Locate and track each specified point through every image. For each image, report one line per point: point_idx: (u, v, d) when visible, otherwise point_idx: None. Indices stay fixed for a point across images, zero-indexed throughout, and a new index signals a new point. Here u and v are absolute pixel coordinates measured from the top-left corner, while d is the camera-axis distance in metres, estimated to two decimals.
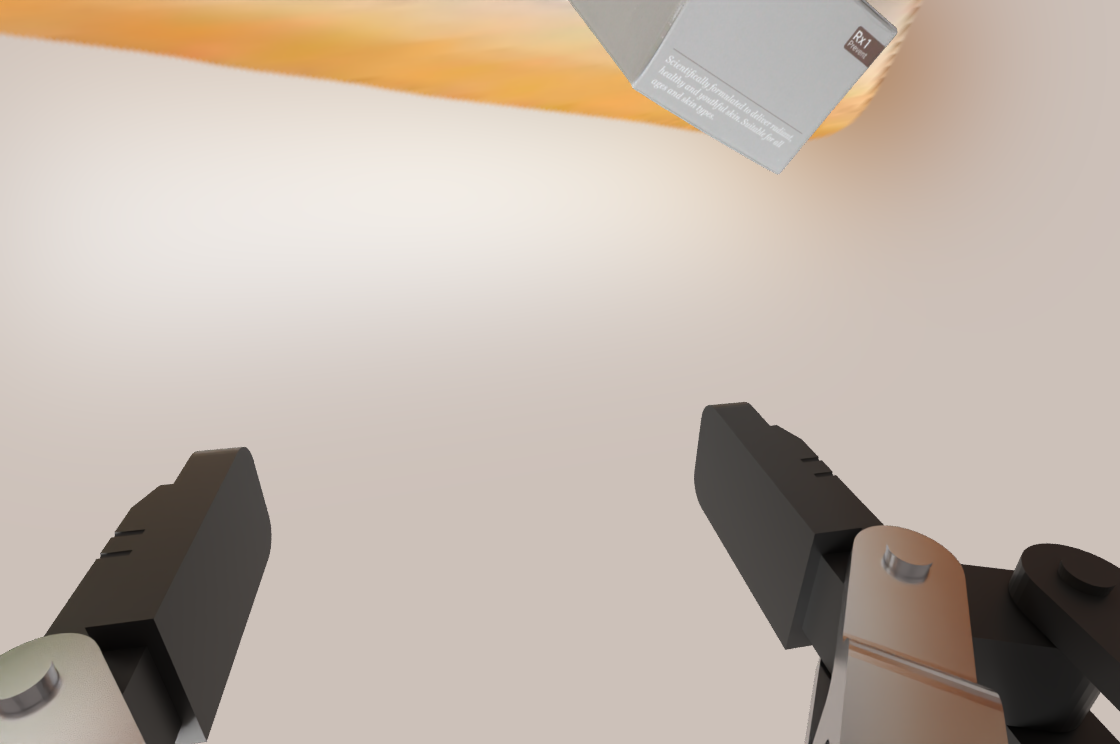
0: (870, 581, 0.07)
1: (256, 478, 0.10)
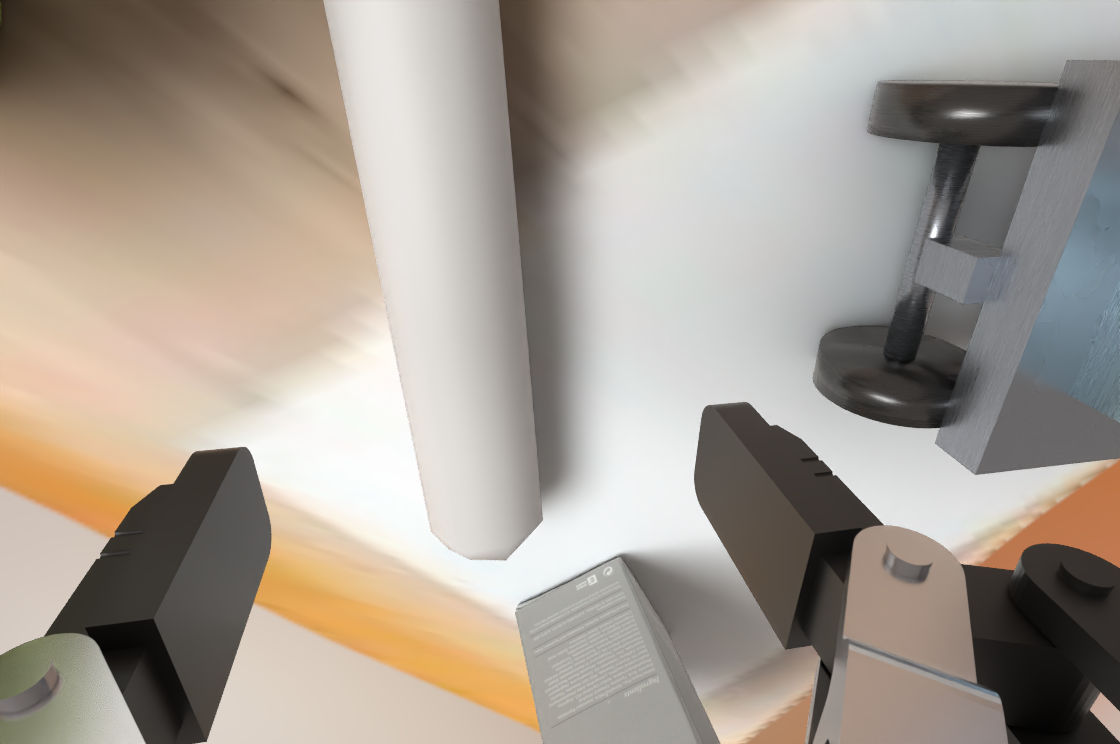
0: (870, 581, 0.07)
1: (256, 478, 0.10)
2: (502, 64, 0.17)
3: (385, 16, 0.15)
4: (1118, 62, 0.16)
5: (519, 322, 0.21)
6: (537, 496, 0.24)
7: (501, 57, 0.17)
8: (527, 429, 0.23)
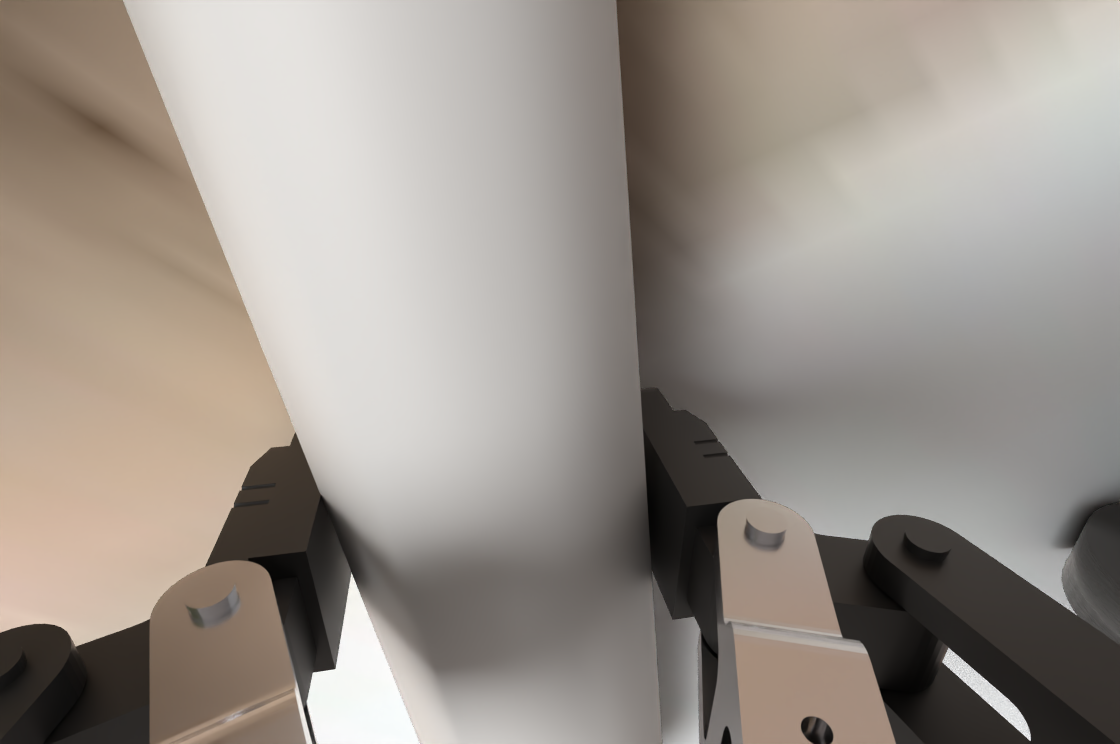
0: (738, 557, 0.07)
1: None
2: (615, 50, 0.06)
3: None
4: None
5: (641, 595, 0.10)
6: None
7: (613, 31, 0.06)
8: None
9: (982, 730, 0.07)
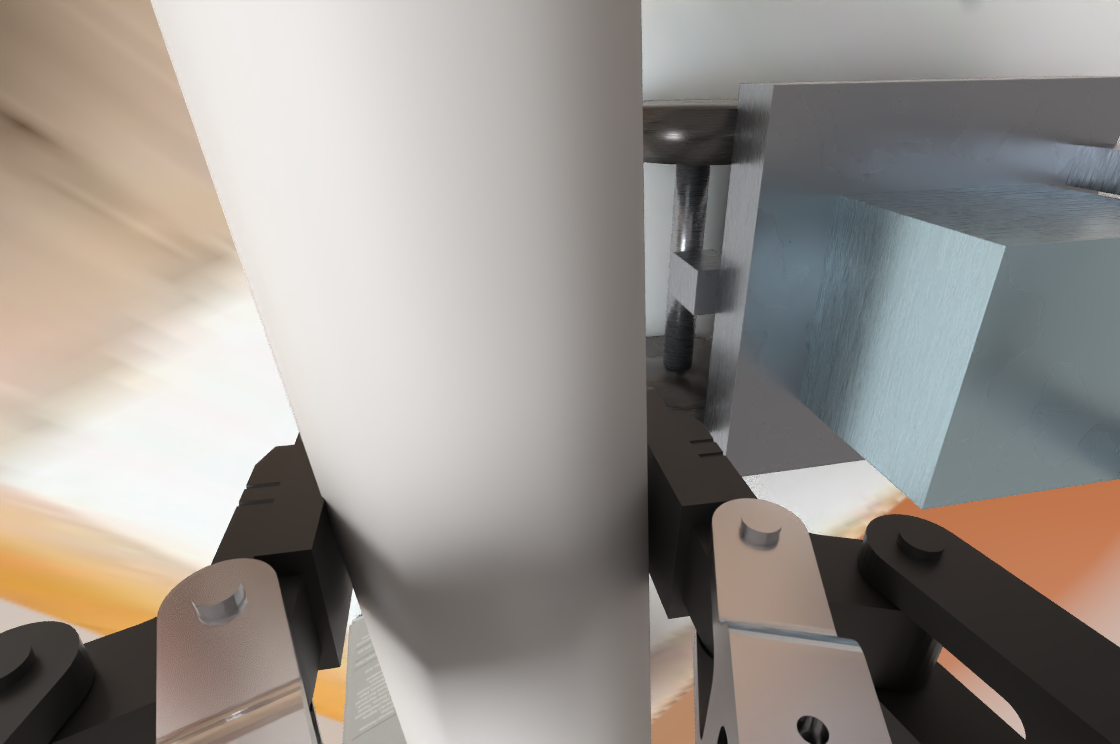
0: (733, 557, 0.07)
1: None
2: (638, 62, 0.06)
3: None
4: (765, 85, 0.17)
5: (638, 604, 0.10)
6: None
7: (637, 43, 0.06)
8: None
9: (977, 729, 0.07)
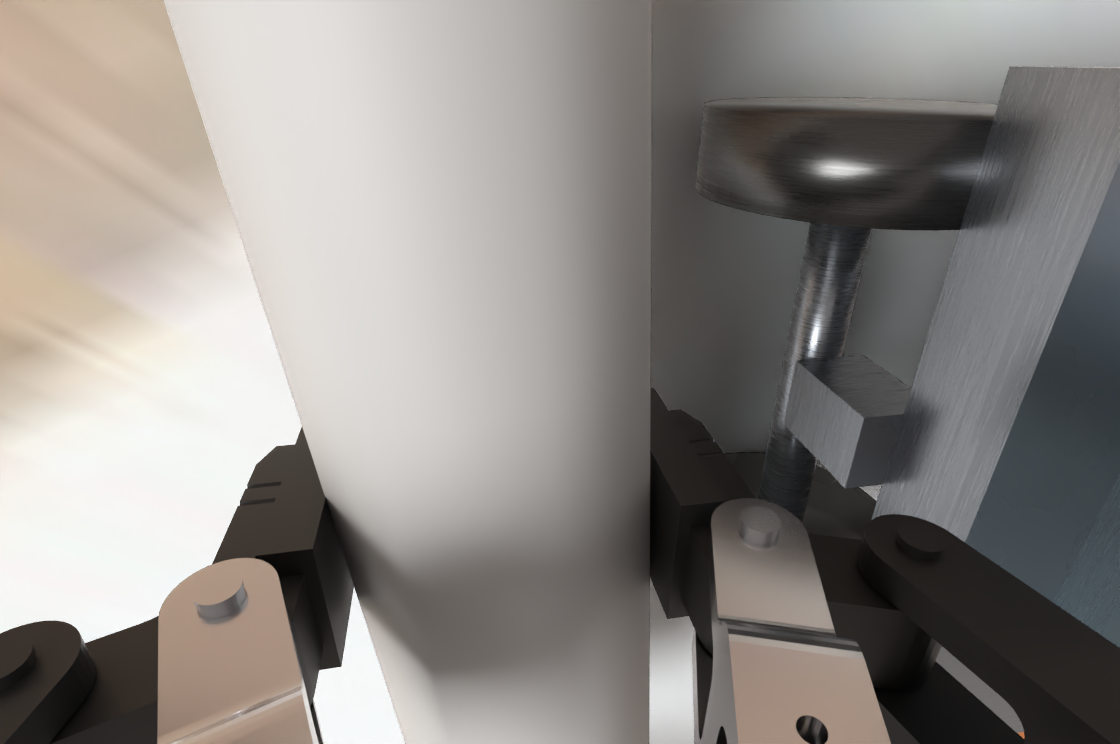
0: (732, 557, 0.07)
1: None
2: (648, 69, 0.06)
3: None
4: (1112, 71, 0.07)
5: (638, 607, 0.10)
6: None
7: (647, 49, 0.06)
8: None
9: (976, 728, 0.07)
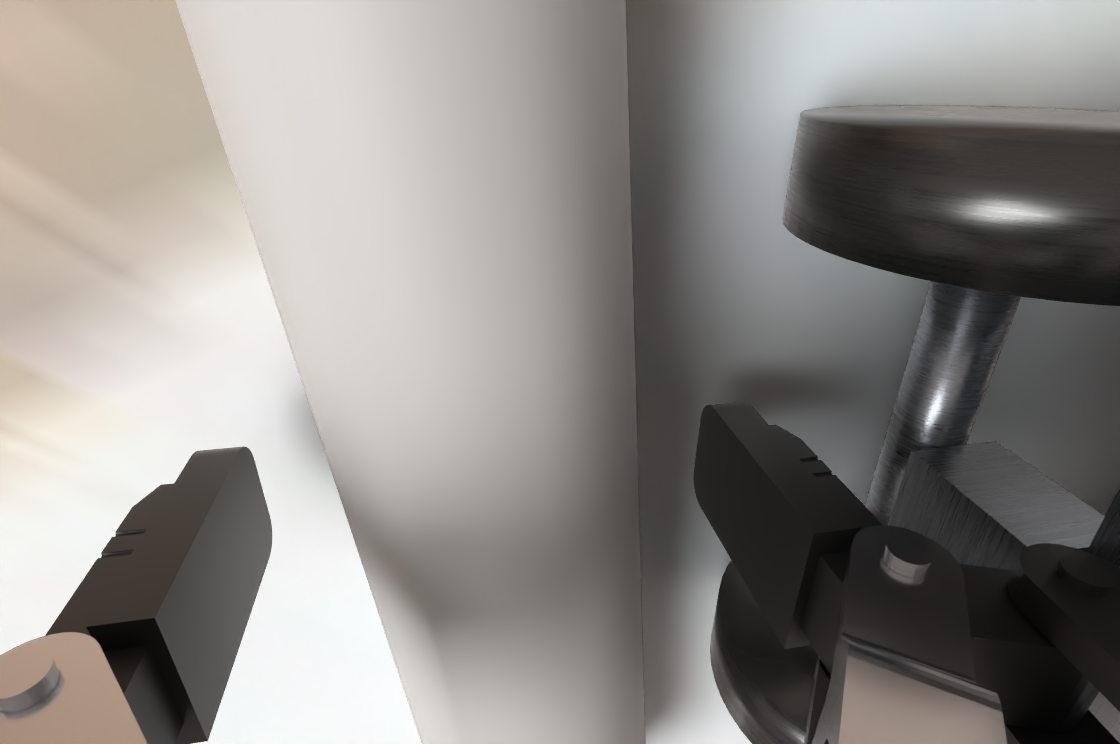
0: (869, 581, 0.07)
1: (257, 478, 0.10)
2: (623, 59, 0.07)
3: None
4: None
5: (630, 574, 0.10)
6: None
7: (622, 41, 0.07)
8: (633, 728, 0.12)
9: None
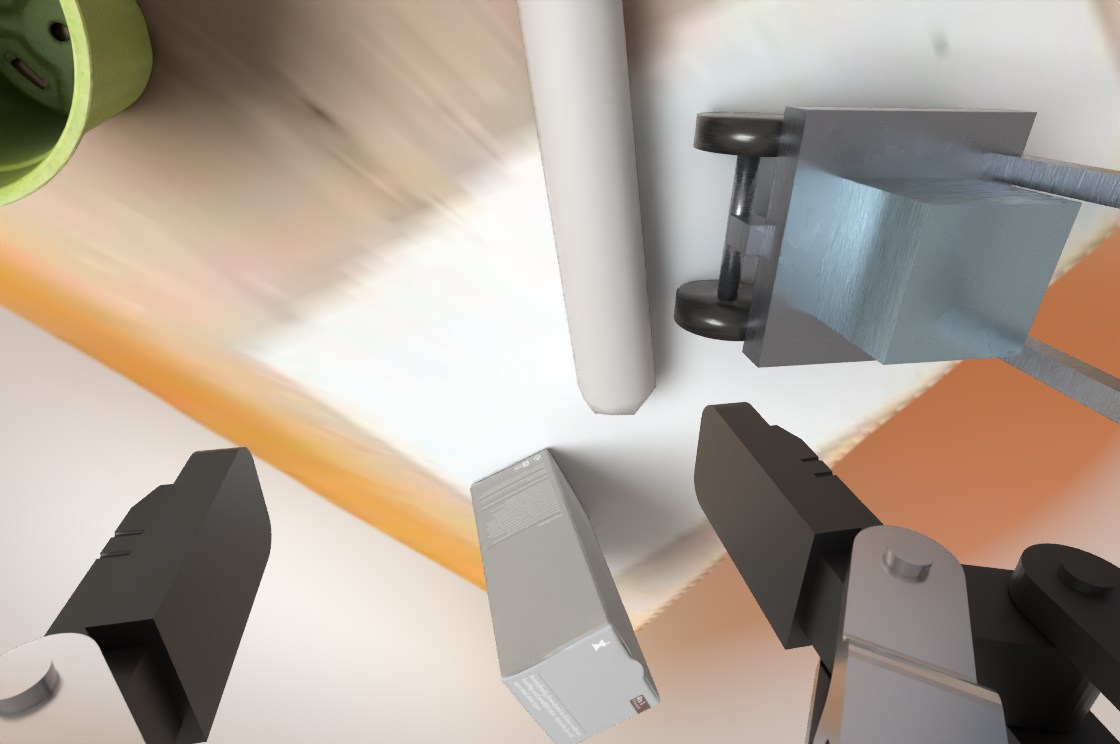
0: (871, 581, 0.07)
1: (256, 478, 0.10)
2: (629, 98, 0.30)
3: (572, 81, 0.28)
4: (802, 109, 0.28)
5: (640, 251, 0.34)
6: (652, 369, 0.38)
7: (629, 94, 0.30)
8: (646, 321, 0.36)
9: None
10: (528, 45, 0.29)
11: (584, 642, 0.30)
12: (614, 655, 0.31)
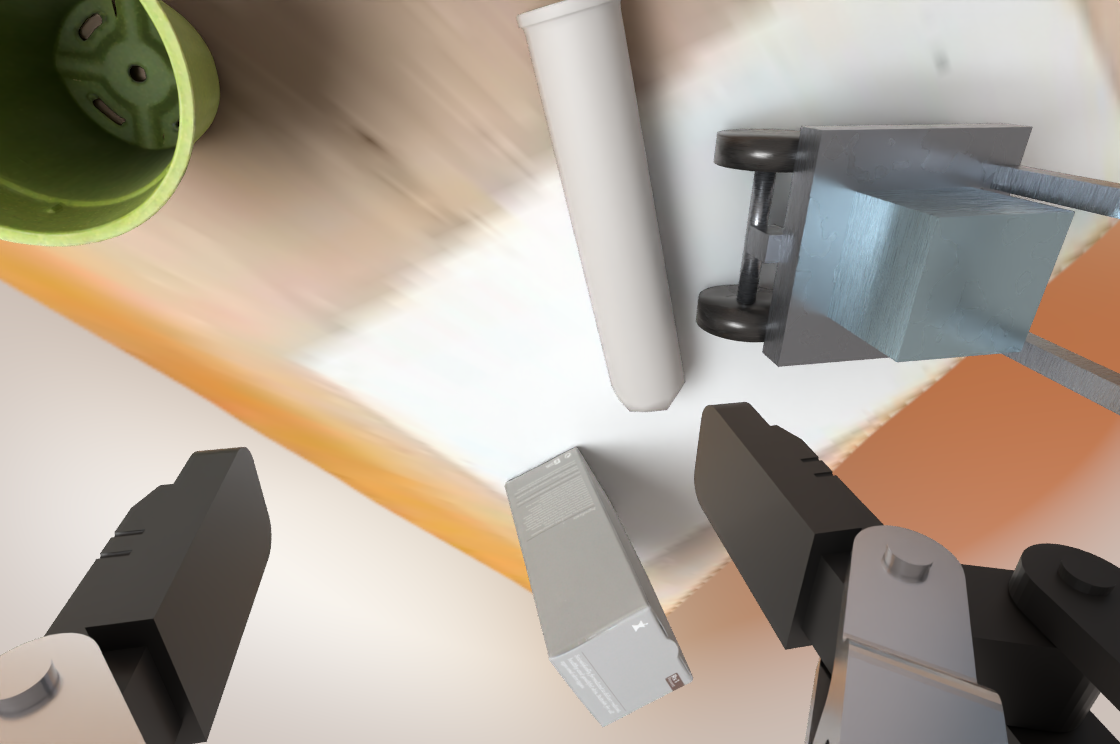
0: (870, 581, 0.07)
1: (256, 478, 0.10)
2: (639, 120, 0.33)
3: (586, 113, 0.31)
4: (817, 130, 0.30)
5: (660, 258, 0.36)
6: (680, 366, 0.40)
7: (638, 117, 0.32)
8: (671, 323, 0.38)
9: None
10: (542, 83, 0.31)
11: (625, 623, 0.32)
12: (652, 635, 0.33)
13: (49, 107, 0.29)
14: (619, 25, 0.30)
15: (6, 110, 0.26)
